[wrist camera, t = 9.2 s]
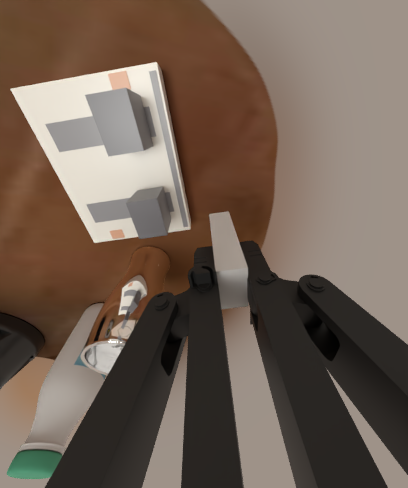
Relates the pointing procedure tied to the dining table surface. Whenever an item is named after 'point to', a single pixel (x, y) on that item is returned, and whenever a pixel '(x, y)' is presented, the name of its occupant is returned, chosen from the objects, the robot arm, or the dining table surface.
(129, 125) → the tab
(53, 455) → the milk bottle
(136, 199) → the tab
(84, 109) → the switch panel
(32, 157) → the dining table surface
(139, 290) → the beer glass
